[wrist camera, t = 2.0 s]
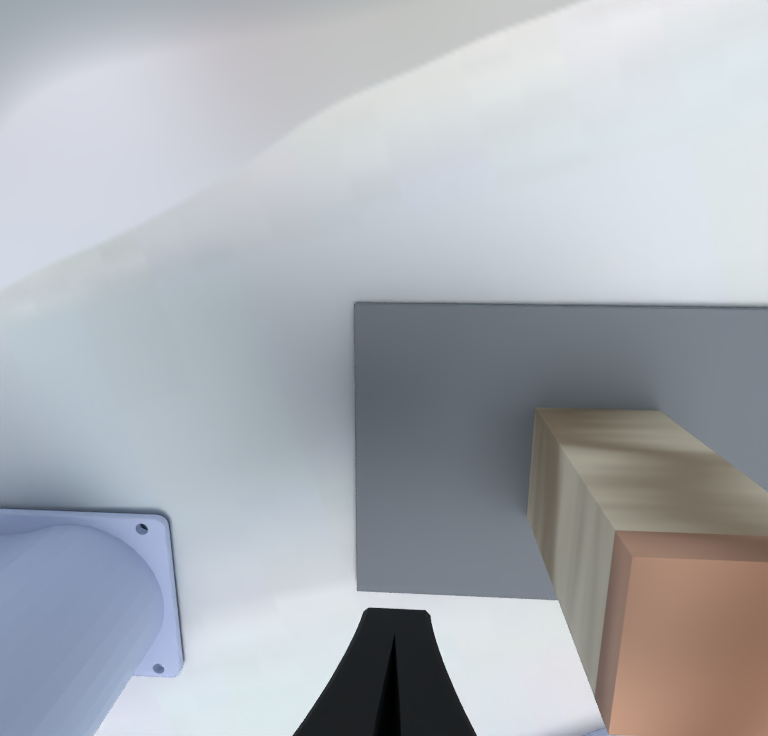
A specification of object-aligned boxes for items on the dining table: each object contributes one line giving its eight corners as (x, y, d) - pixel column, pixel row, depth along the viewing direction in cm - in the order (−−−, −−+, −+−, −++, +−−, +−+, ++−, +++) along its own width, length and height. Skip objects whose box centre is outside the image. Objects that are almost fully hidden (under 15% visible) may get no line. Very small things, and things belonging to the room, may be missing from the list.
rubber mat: (358, 581, 23) (356, 591, 23) (355, 302, 20) (354, 304, 20) (900, 606, 22) (913, 616, 21) (983, 310, 19) (1001, 313, 18)
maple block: (526, 516, 21) (608, 734, 12) (535, 407, 20) (632, 557, 11) (644, 520, 21) (819, 747, 12) (659, 410, 20) (866, 566, 11)
